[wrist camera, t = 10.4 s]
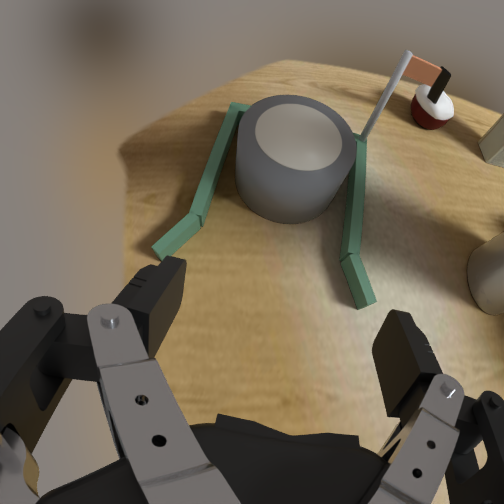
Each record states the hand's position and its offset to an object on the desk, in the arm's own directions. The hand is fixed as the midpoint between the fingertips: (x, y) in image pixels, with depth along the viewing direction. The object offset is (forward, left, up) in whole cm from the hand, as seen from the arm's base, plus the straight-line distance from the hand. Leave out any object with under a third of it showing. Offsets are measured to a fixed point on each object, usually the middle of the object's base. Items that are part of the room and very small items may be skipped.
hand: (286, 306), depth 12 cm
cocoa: (-36, -19, -18) cm, 44 cm away
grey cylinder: (-10, -14, -18) cm, 25 cm away
